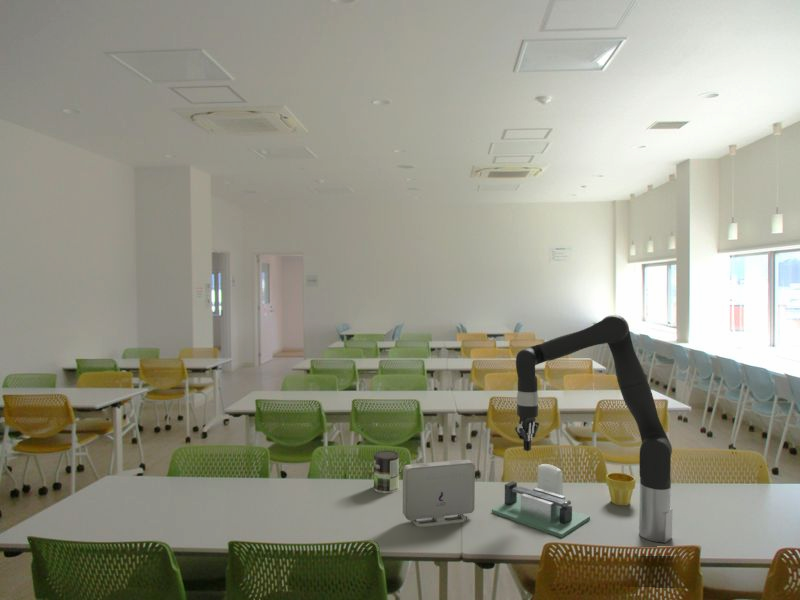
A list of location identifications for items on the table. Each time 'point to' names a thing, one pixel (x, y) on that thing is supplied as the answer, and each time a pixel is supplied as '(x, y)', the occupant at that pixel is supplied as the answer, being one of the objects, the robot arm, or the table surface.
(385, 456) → the coffee can
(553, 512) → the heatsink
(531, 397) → the robot arm
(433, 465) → the network device
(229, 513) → the table surface
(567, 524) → the mainboard
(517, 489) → the grey flat bar
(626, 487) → the plant pot
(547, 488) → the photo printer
